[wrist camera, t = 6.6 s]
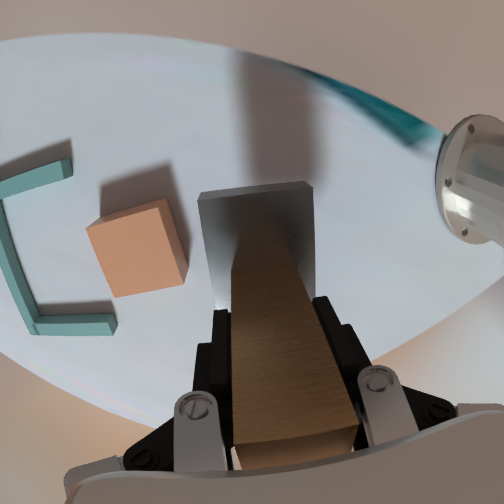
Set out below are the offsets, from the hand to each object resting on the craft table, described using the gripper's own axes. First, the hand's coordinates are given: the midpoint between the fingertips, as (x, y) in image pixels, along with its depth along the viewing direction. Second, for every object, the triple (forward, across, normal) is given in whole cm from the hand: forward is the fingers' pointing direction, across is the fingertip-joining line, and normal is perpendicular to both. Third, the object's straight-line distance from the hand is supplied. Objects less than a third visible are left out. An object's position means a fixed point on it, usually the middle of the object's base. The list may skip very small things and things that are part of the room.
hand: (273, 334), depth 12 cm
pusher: (+5, 0, 0) cm, 5 cm away
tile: (+13, +9, 0) cm, 16 cm away
